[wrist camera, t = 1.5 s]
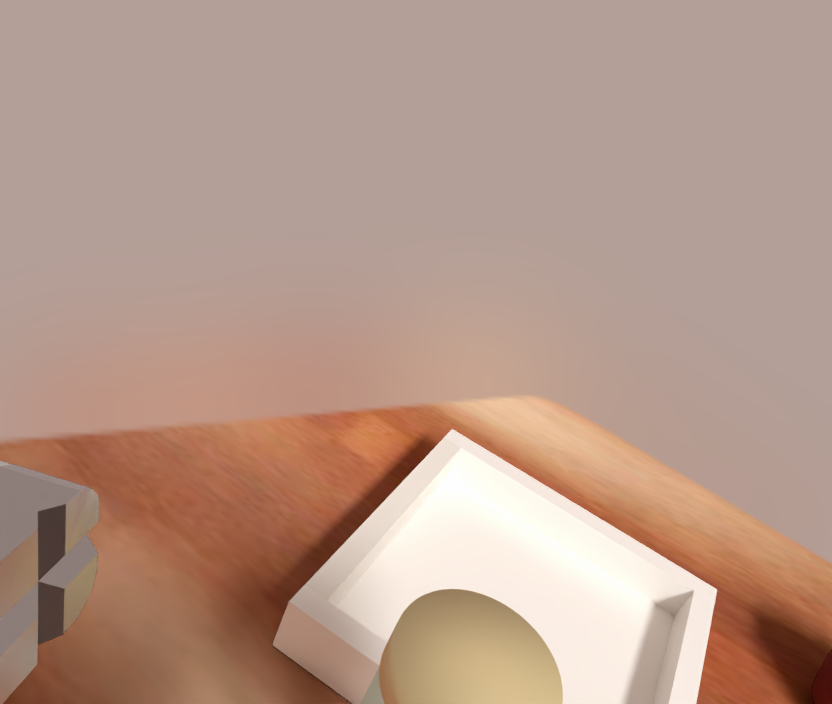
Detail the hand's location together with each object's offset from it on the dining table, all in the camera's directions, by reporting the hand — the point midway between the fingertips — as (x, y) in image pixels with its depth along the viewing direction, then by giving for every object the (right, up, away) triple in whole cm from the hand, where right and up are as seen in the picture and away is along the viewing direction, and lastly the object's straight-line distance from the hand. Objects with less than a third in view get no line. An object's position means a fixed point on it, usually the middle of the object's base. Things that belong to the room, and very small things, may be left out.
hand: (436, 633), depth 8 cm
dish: (+5, -11, +31) cm, 33 cm away
